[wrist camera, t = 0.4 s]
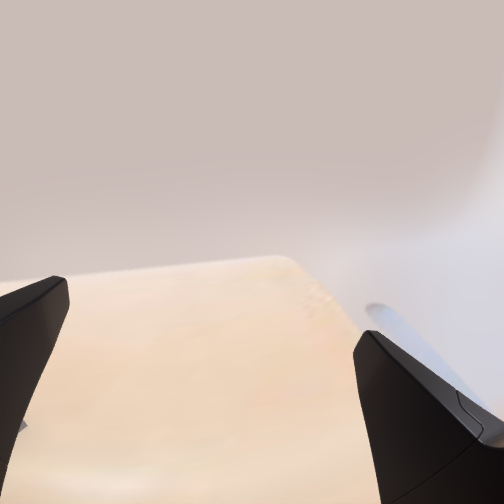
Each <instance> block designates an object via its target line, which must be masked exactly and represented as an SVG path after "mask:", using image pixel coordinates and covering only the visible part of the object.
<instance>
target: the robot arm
mask: <svg viewBox="0 0 504 504" xmlns="http://www.w3.org/2000/svg"><path fill="white" fill-rule="evenodd" d="M69 305H70V301H69V292H68V284H67V280H66V279H65V278H62V277H59V276H51V277H49V278H46V279H43V280H41V281H38V282H36V283H33V284H31V285H28V286H26V287H23V288H21V289H18V290H16V291H13V292H11V293H8V294H6V295H3V296H1V297H0V496H1V491H2V487H3V483H4V479H5V475H6V471H7V467H8V466H7V465H8V463H9V460H10V456H11V453H12V450H13V447H14V444H15V441H16V438H17V435H18V432H19V429H20V426H21V423H22V421H23V418H24V415H25V413H26V410H27V408H28V405H29V403H30V400H31V398H32V395H33V393H34V390H35V388H36V386H37V383H38V381H39V379H40V377H41V374H42V372H43V370H44V368H45V366H46V364H47V362H48V359H49V357H50V355H51V353H52V351H53V348H54V346H55V343H56V341H57V338H58V335H59V332H60V330H61V327H62V325H63V322H64V320H65V317H66V315H67V312H68V310H69ZM353 359H354V366H355V372H356V379H357V387H358V393H359V399H360V403H361V407H362V411H363V416H364V420H365V424H366V429H367V433H368V438H369V442H370V447H371V452H372V457H373V462H374V467H375V472H376V477H377V483H378V488H379V494H380V500H381V504H504V422H503V421H502V420H500V419H498V418H497V417H495V416H494V415H492V414H491V413H489V412H488V411H486V410H485V409H483V408H482V407H480V406H479V405H477V404H476V403H474V402H473V401H472V400H470V399H469V398H467V397H466V396H465V395H463V394H462V393H461V392H459V391H458V390H456V389H455V388H454V387H452V386H451V385H450V384H448V383H447V382H446V381H444V380H443V379H442V378H440V377H439V376H438V375H436V374H435V373H434V372H432V371H431V370H430V369H428V368H427V367H426V366H424V365H423V364H422V363H420V362H419V361H418V360H416V359H415V358H413V357H412V356H411V355H409V354H408V353H407V352H405V351H404V350H403V349H401V348H400V347H399V346H397V345H396V344H394V343H393V342H392V341H390V340H389V339H388V338H386V337H385V336H384V335H382V334H381V333H379V332H378V331H372V330H366V331H365V332H364V333H363V334H362V336H361V338H360V340H359V341H358V343H357V345H356V347H355V349H354V352H353Z"/></svg>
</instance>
